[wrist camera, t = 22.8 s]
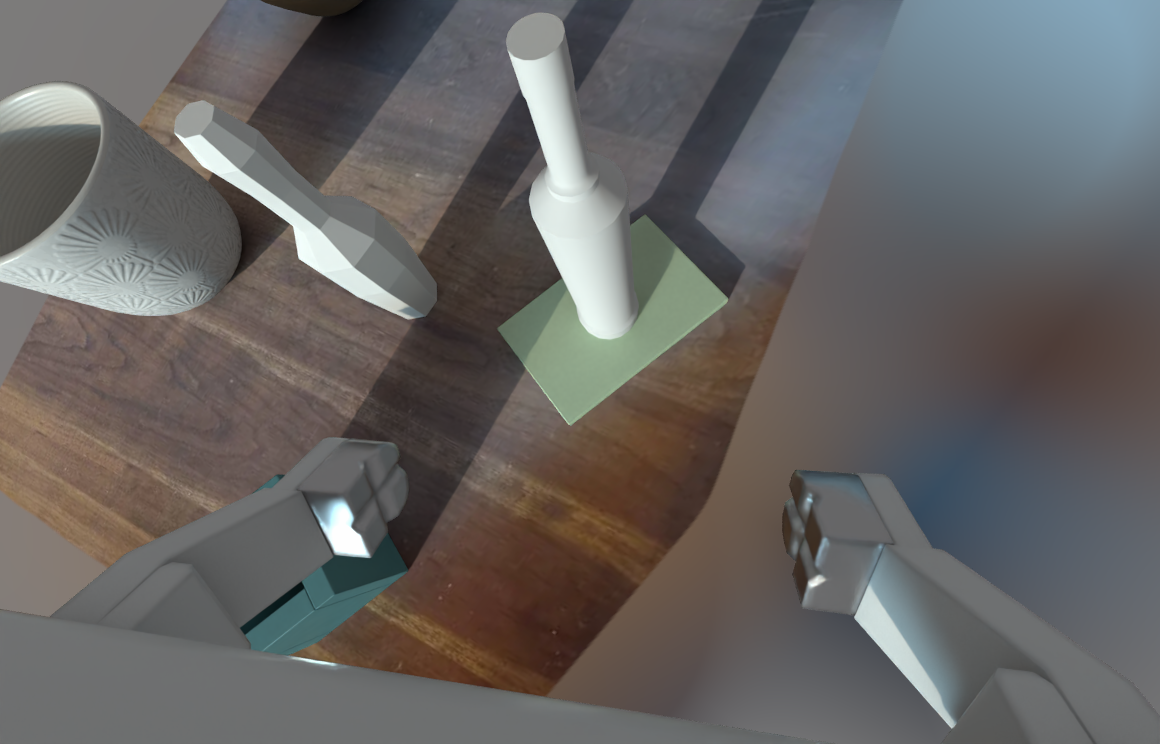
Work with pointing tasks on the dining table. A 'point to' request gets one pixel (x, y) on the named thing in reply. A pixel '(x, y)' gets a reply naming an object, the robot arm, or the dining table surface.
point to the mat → (600, 366)
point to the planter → (105, 208)
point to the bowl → (316, 6)
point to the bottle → (575, 184)
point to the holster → (323, 598)
